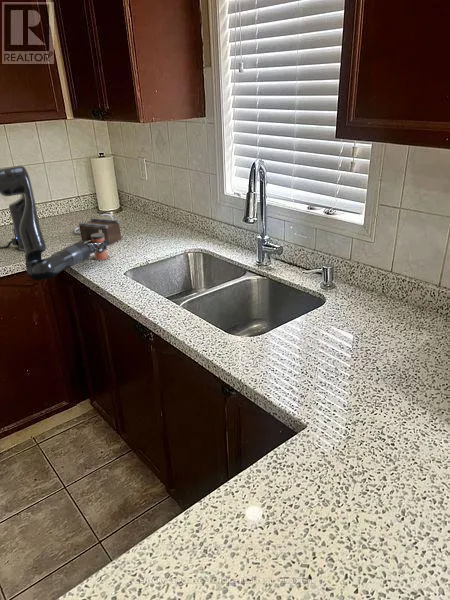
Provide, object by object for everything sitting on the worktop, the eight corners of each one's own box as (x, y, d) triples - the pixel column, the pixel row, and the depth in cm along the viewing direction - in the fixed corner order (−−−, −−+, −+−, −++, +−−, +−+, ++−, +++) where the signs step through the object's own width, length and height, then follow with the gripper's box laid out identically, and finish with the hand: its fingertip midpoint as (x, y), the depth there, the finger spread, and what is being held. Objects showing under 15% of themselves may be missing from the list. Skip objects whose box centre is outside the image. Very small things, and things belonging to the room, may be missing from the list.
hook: (116, 227, 223) (77, 239, 218) (113, 223, 231) (75, 234, 226) (112, 213, 220) (72, 225, 215) (109, 209, 228) (70, 221, 223)
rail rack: (82, 241, 208) (78, 223, 204) (94, 235, 215) (91, 217, 212) (109, 244, 202) (106, 226, 198) (121, 238, 209) (118, 220, 205)
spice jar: (92, 259, 185) (87, 236, 181) (100, 254, 190) (96, 232, 185) (102, 260, 183) (98, 237, 179) (110, 256, 187) (107, 233, 183)
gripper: (87, 247, 167) (115, 233, 181) (58, 243, 173) (88, 230, 187) (90, 265, 171) (118, 251, 184) (62, 261, 177) (91, 247, 190)
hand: (103, 241), depth 186 cm, fingers closed on spice jar, 5 cm apart
